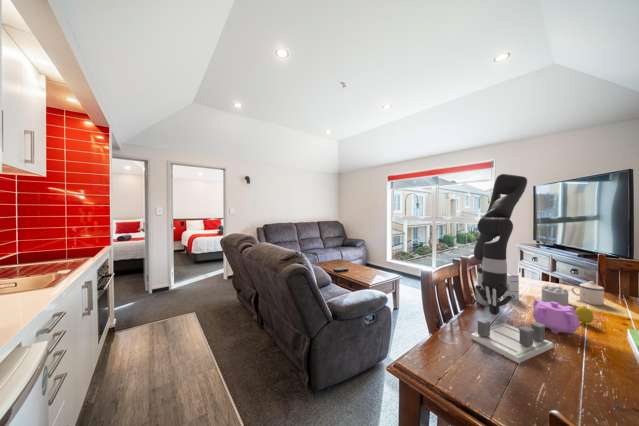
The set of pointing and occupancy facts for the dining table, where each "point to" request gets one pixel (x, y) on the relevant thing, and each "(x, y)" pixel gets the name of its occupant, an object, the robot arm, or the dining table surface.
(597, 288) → the teacup with lid
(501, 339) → the panel
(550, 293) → the lumpy-topped squat cylinder
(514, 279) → the syrup box
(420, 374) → the dining table surface
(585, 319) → the lemon
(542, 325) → the handle
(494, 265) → the robot arm
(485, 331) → the grey upright block
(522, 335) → the handle middle
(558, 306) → the purple rounded body
